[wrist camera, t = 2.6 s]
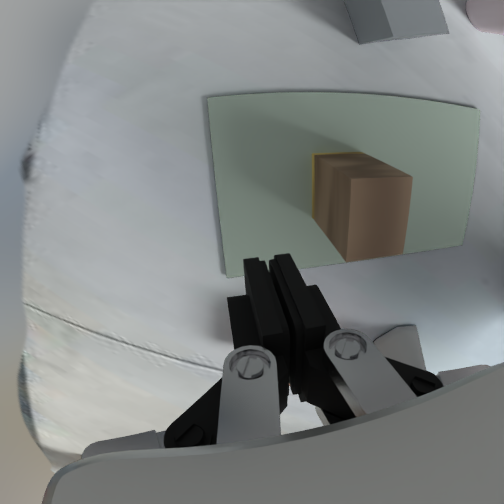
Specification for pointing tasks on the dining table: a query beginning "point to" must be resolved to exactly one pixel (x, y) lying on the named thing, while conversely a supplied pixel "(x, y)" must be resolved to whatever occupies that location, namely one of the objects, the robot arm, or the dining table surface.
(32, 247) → the dining table surface
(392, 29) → the slate block
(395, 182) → the walnut block
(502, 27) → the smoothie
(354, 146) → the rubber mat
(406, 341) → the flask
